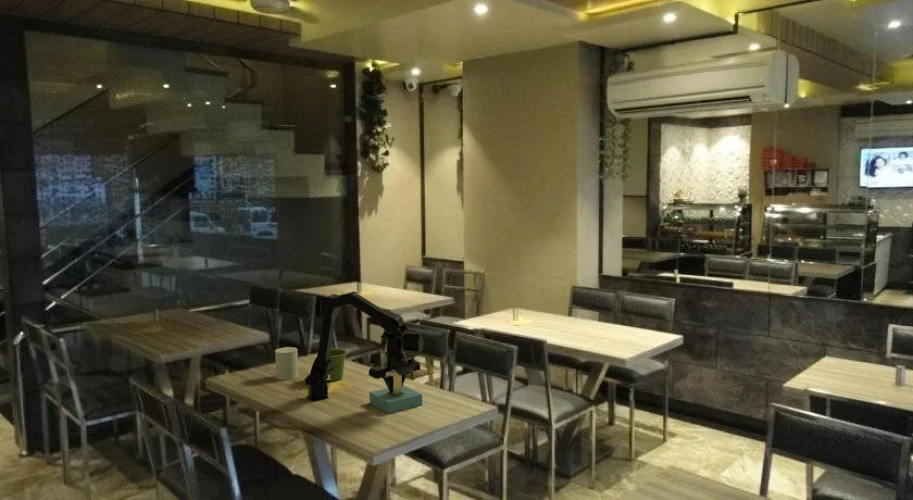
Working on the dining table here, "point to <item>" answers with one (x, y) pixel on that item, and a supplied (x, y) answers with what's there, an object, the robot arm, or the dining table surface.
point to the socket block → (395, 399)
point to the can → (286, 363)
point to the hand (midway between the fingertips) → (395, 391)
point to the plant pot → (337, 363)
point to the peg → (396, 384)
